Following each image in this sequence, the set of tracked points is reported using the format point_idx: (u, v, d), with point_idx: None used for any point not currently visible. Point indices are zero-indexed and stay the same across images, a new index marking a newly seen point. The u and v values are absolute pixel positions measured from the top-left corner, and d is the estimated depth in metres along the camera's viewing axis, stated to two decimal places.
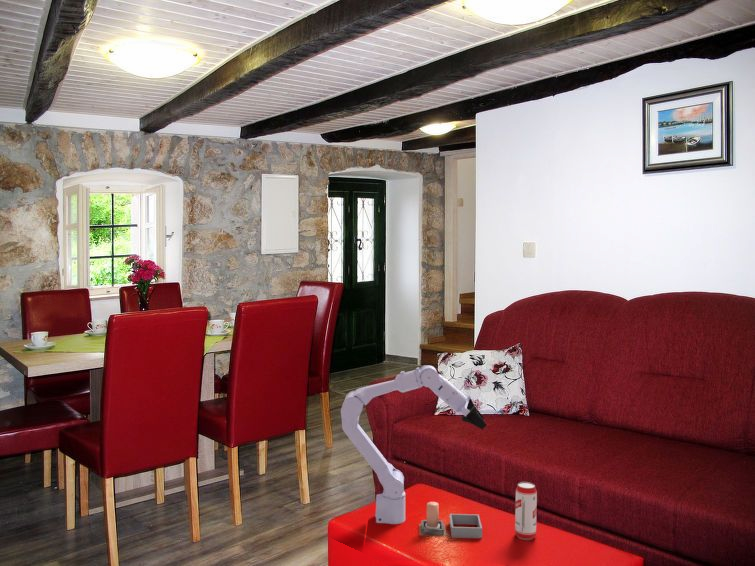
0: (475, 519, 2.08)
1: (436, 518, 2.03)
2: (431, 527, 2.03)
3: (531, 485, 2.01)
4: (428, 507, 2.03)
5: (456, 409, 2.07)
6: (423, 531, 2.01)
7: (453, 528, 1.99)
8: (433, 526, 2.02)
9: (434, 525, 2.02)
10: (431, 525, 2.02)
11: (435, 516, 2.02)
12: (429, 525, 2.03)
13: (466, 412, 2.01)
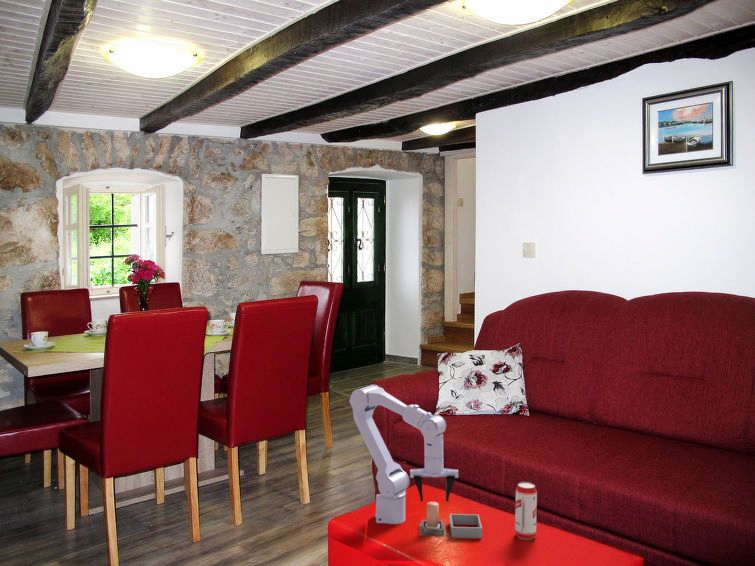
0: (475, 519, 2.08)
1: (436, 518, 2.03)
2: (431, 527, 2.03)
3: (531, 485, 2.01)
4: (428, 507, 2.03)
5: None
6: (423, 531, 2.01)
7: (453, 528, 1.99)
8: (433, 526, 2.02)
9: (434, 525, 2.02)
10: (431, 525, 2.02)
11: (435, 516, 2.02)
12: (429, 525, 2.03)
13: None
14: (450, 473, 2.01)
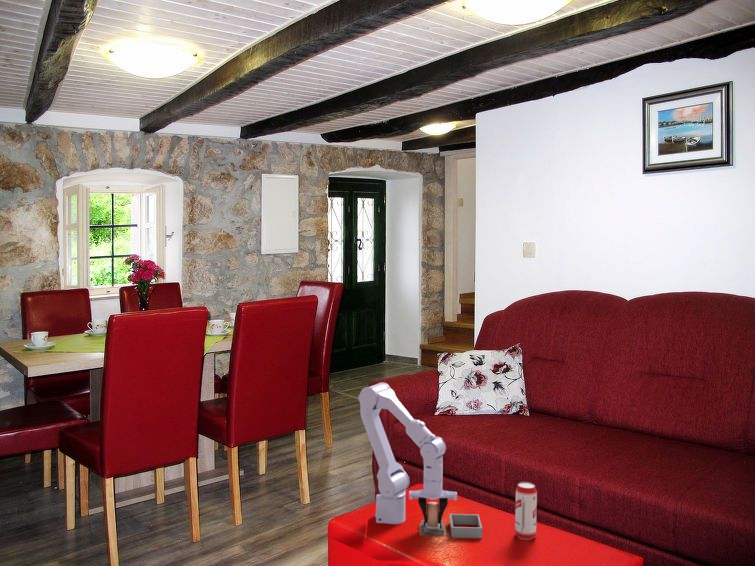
0: (475, 519, 2.08)
1: (436, 518, 2.03)
2: (431, 527, 2.03)
3: (531, 485, 2.01)
4: (428, 507, 2.03)
5: None
6: (423, 531, 2.01)
7: (453, 528, 1.99)
8: (433, 526, 2.02)
9: (434, 525, 2.02)
10: (431, 525, 2.02)
11: (435, 516, 2.02)
12: (429, 525, 2.03)
13: None
14: (449, 496, 2.02)
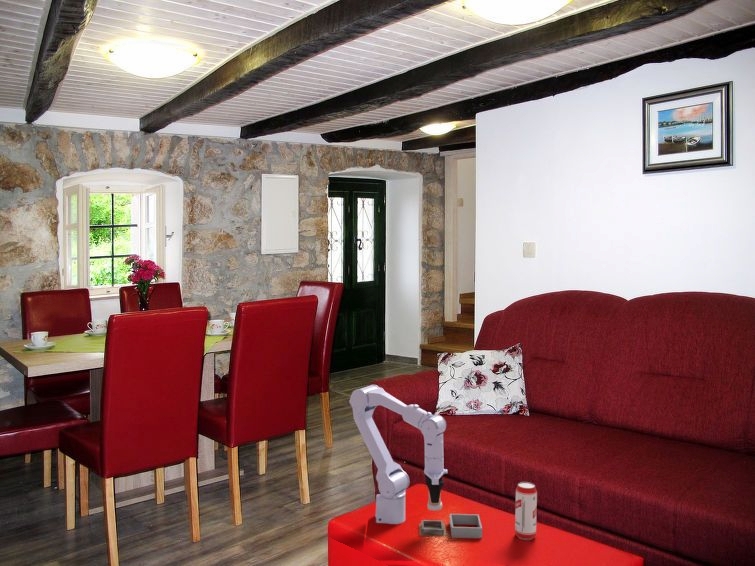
0: (475, 519, 2.08)
1: None
2: (440, 503, 2.03)
3: (531, 485, 2.01)
4: None
5: (428, 471, 2.01)
6: (423, 531, 2.01)
7: (453, 528, 1.99)
8: (440, 501, 2.04)
9: None
10: (440, 501, 2.03)
11: None
12: (439, 502, 2.02)
13: (436, 482, 1.96)
14: None
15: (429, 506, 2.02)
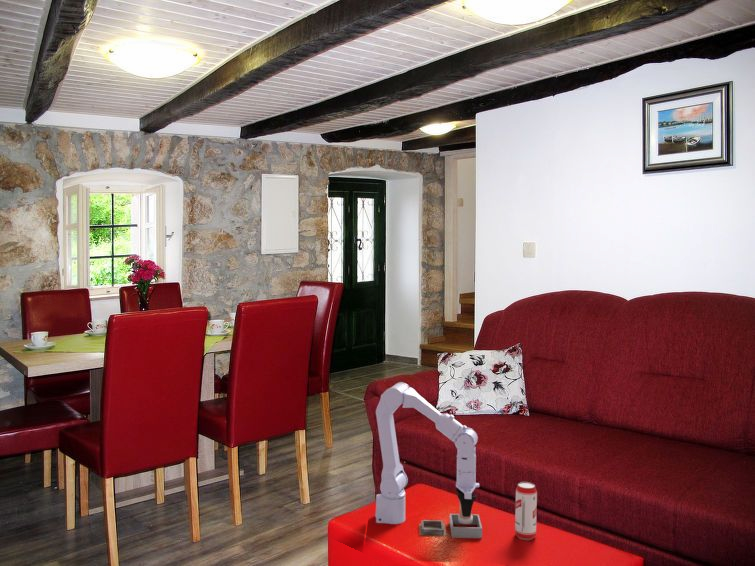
0: (475, 519, 2.08)
1: None
2: (471, 517, 2.03)
3: (531, 485, 2.01)
4: None
5: (460, 484, 2.01)
6: (423, 531, 2.01)
7: (453, 528, 1.99)
8: None
9: None
10: (471, 515, 2.03)
11: None
12: (470, 516, 2.02)
13: (469, 497, 1.96)
14: None
15: (460, 519, 2.02)
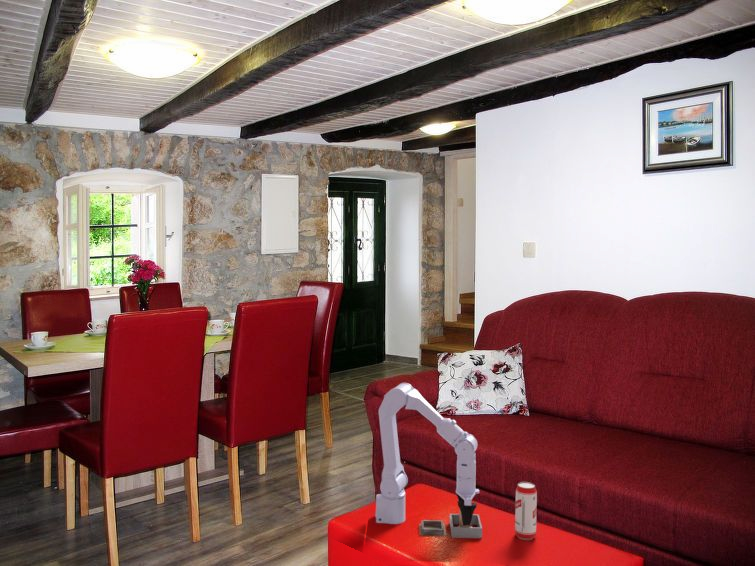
0: (475, 519, 2.08)
1: None
2: None
3: (531, 485, 2.01)
4: None
5: (460, 491, 2.01)
6: (423, 531, 2.01)
7: (453, 528, 1.99)
8: None
9: None
10: (471, 526, 2.03)
11: None
12: None
13: (469, 503, 1.96)
14: None
15: None
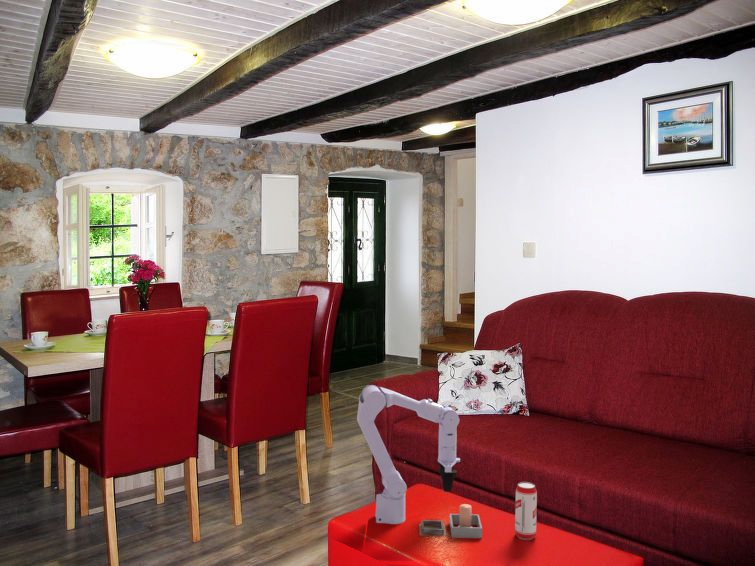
0: (475, 519, 2.08)
1: None
2: None
3: (531, 485, 2.01)
4: (469, 510, 2.02)
5: (441, 459, 2.12)
6: (423, 531, 2.01)
7: (453, 528, 1.99)
8: None
9: None
10: (471, 526, 2.03)
11: None
12: None
13: (449, 470, 2.07)
14: None
15: None
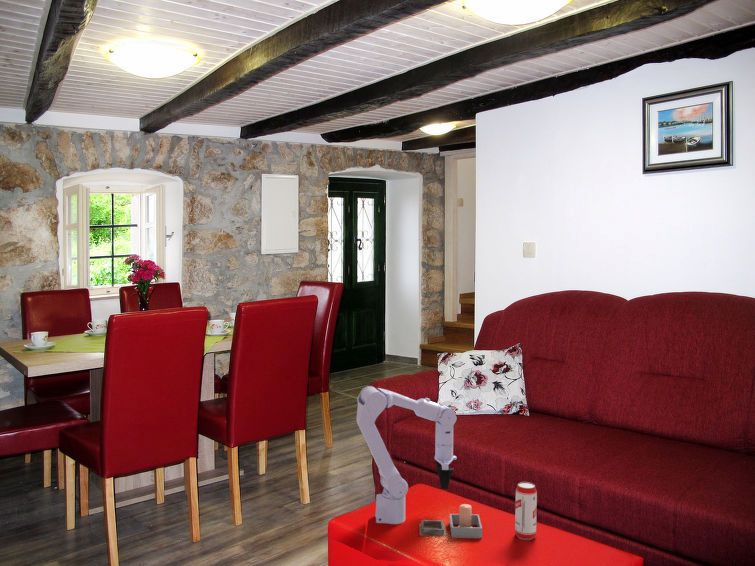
0: (475, 519, 2.08)
1: None
2: None
3: (531, 485, 2.01)
4: (469, 510, 2.02)
5: (438, 457, 2.14)
6: (423, 531, 2.01)
7: (453, 528, 1.99)
8: None
9: None
10: (471, 526, 2.03)
11: None
12: None
13: (446, 468, 2.09)
14: None
15: None
